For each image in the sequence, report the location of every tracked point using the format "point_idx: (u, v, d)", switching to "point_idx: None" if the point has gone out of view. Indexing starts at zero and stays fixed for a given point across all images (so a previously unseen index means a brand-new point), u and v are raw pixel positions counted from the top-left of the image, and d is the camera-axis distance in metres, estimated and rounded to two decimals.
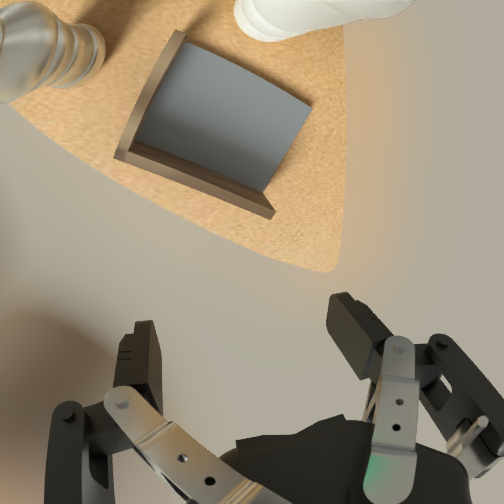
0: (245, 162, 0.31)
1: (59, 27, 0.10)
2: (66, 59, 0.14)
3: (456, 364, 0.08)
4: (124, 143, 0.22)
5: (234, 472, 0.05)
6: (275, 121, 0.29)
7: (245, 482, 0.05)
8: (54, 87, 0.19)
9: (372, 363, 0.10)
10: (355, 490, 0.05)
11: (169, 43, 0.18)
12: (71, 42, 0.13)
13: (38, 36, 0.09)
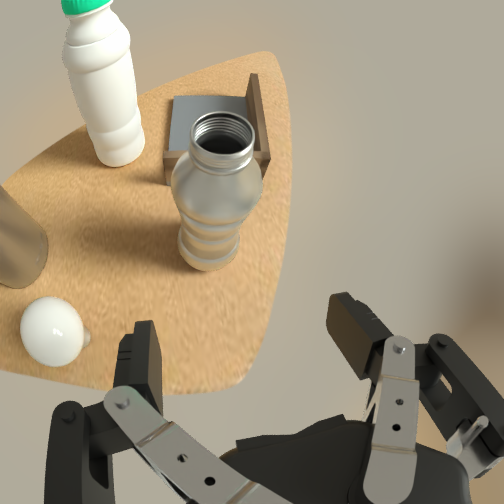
0: (231, 111, 0.41)
1: None
2: None
3: (456, 364, 0.08)
4: (256, 154, 0.33)
5: (234, 472, 0.05)
6: (195, 107, 0.40)
7: (245, 482, 0.05)
8: None
9: (372, 363, 0.10)
10: (355, 490, 0.05)
11: (174, 156, 0.31)
12: None
13: None
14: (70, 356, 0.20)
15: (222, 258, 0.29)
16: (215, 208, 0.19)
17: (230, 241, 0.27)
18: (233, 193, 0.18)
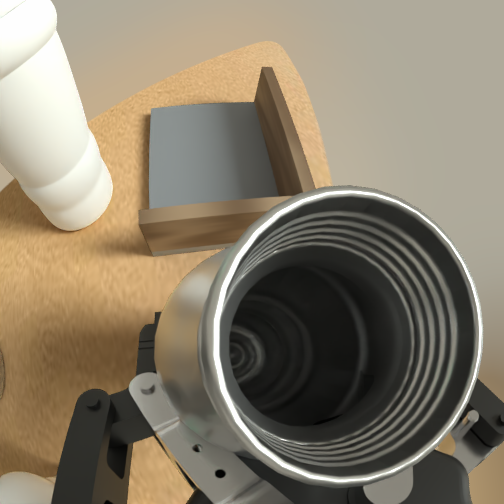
0: (238, 124, 0.28)
1: None
2: None
3: None
4: None
5: (245, 467, 0.06)
6: (183, 123, 0.27)
7: (254, 479, 0.05)
8: None
9: None
10: (355, 490, 0.05)
11: (159, 219, 0.18)
12: None
13: (219, 255, 0.07)
14: None
15: None
16: None
17: (283, 387, 0.14)
18: None
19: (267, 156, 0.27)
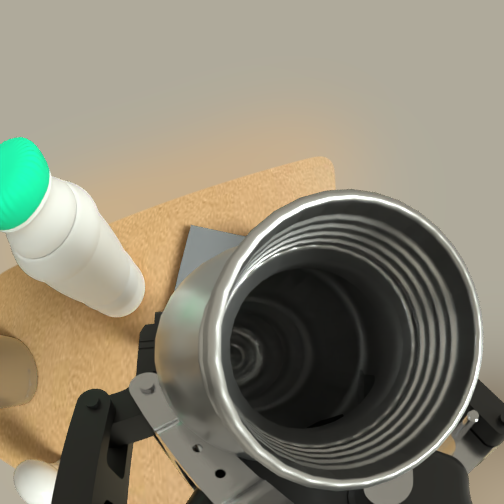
0: None
1: None
2: None
3: None
4: None
5: (245, 467, 0.06)
6: (212, 252, 0.35)
7: (254, 479, 0.05)
8: None
9: None
10: (355, 490, 0.05)
11: None
12: None
13: (220, 256, 0.07)
14: None
15: None
16: None
17: None
18: None
19: None
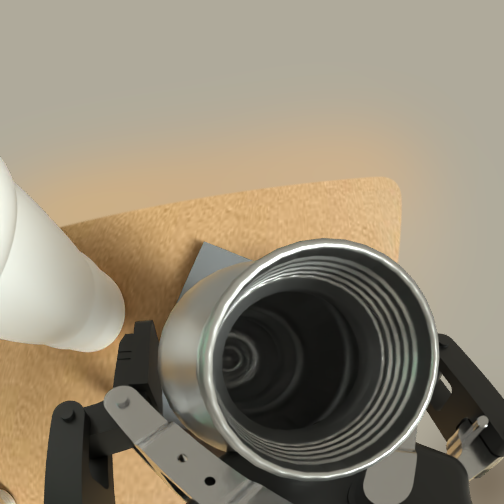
0: None
1: None
2: None
3: (456, 364, 0.08)
4: None
5: (233, 472, 0.05)
6: None
7: (245, 482, 0.05)
8: None
9: None
10: (355, 490, 0.05)
11: None
12: None
13: (216, 276, 0.08)
14: None
15: None
16: None
17: (277, 390, 0.15)
18: None
19: None
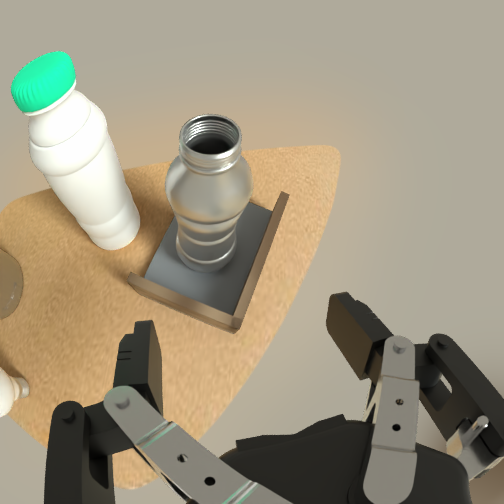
0: (246, 227, 0.37)
1: None
2: None
3: (456, 364, 0.08)
4: (226, 318, 0.28)
5: (234, 471, 0.05)
6: None
7: (245, 482, 0.05)
8: (235, 234, 0.32)
9: (372, 363, 0.10)
10: (355, 490, 0.05)
11: (138, 284, 0.28)
12: None
13: (190, 147, 0.21)
14: None
15: (220, 258, 0.30)
16: (209, 207, 0.20)
17: (227, 240, 0.28)
18: (225, 191, 0.19)
19: (250, 264, 0.35)
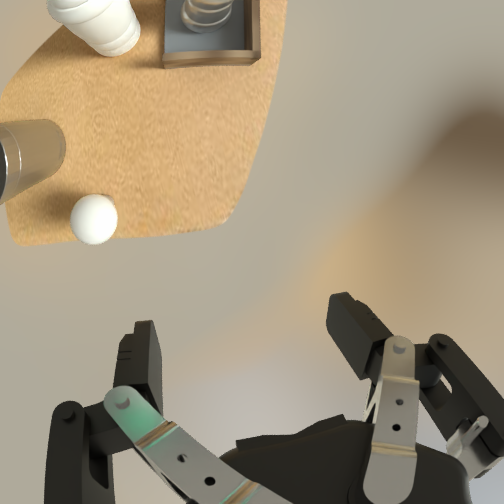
0: None
1: None
2: None
3: (456, 364, 0.08)
4: (248, 54, 0.31)
5: (233, 472, 0.05)
6: None
7: (245, 482, 0.05)
8: None
9: (372, 363, 0.10)
10: (355, 490, 0.05)
11: (173, 58, 0.29)
12: None
13: None
14: (111, 234, 0.34)
15: (226, 17, 0.28)
16: None
17: (231, 3, 0.25)
18: None
19: (242, 14, 0.32)
